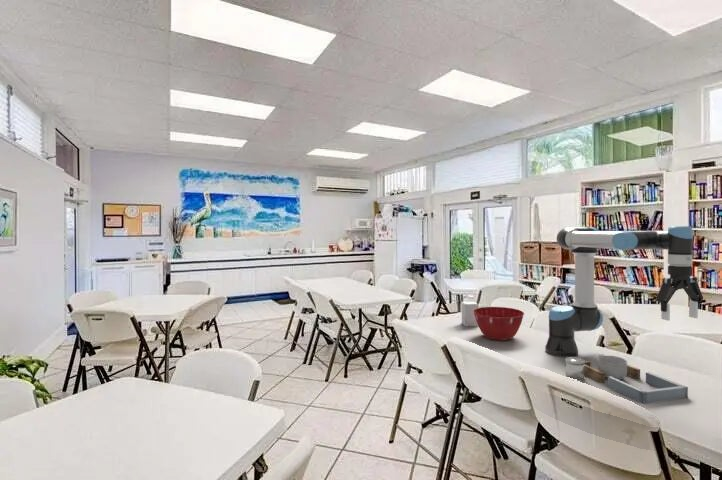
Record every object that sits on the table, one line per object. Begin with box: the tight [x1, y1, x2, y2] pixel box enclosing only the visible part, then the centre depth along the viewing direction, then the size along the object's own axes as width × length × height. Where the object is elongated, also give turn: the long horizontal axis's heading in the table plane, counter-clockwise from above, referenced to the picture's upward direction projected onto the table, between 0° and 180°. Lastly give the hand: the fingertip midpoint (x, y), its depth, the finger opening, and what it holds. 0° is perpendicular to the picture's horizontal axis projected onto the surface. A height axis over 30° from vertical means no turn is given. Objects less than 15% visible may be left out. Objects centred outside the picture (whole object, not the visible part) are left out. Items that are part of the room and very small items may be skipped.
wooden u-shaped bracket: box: [584, 360, 641, 384], centre depth 168 cm, size 14×19×4 cm
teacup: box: [596, 354, 628, 381], centre depth 166 cm, size 14×11×8 cm
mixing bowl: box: [473, 306, 525, 341], centre depth 227 cm, size 28×28×15 cm
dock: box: [607, 371, 689, 404], centre depth 150 cm, size 16×20×4 cm
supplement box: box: [461, 301, 479, 327], centre depth 257 cm, size 9×9×15 cm
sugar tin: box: [564, 356, 586, 382], centre depth 165 cm, size 7×7×8 cm
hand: (679, 318), depth 152 cm, fingers open, 13 cm apart
